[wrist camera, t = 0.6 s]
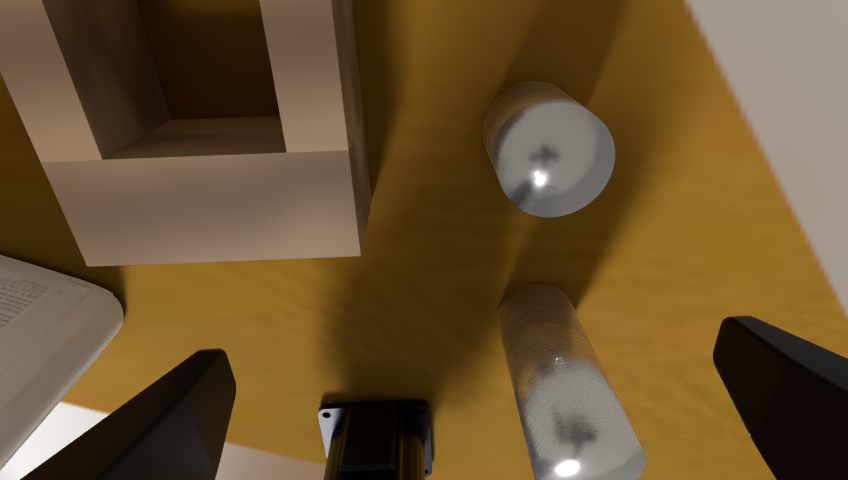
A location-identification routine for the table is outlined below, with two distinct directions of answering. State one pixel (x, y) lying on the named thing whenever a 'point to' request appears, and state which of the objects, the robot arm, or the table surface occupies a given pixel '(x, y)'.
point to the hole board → (191, 138)
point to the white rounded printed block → (46, 343)
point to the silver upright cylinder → (564, 391)
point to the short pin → (547, 149)
